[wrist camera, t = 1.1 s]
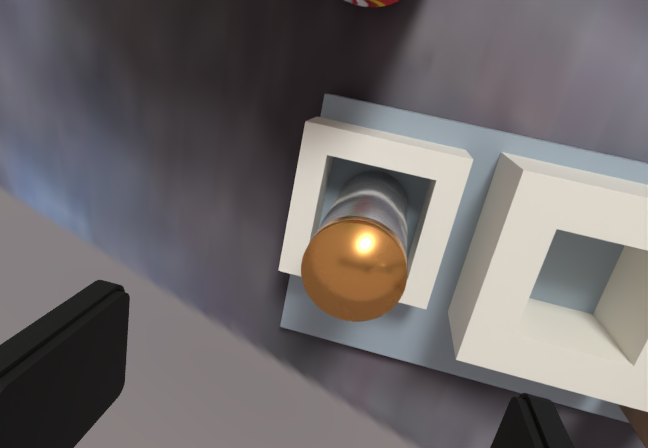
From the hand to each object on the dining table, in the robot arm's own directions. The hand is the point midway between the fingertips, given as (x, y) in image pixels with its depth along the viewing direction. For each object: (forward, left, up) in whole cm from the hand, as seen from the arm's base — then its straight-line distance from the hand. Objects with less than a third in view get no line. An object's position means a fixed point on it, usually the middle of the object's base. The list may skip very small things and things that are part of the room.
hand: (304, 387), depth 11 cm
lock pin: (0, 0, -17) cm, 17 cm away
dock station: (-8, +2, -18) cm, 20 cm away
